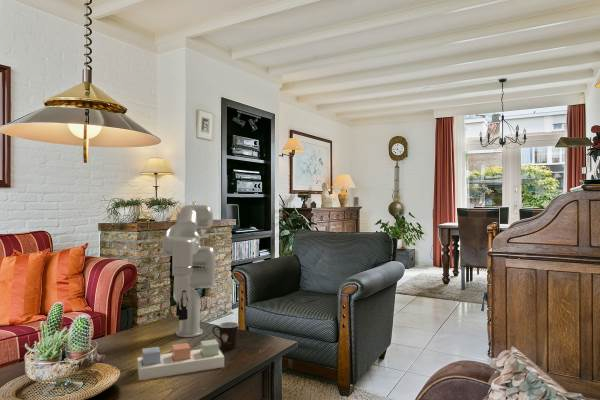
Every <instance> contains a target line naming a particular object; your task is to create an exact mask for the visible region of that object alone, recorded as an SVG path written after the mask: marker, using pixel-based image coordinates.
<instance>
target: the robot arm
mask: <svg viewBox="0 0 600 400" xmlns="http://www.w3.org/2000/svg"><path fill="white" fill-rule="evenodd" d="M213 223H214V214H213V210H212V208H211V206H209V205H205V204H203V205H200V204H194V205H193V204H191V205H190V204H189V205H185V206H183V207H182V208H181V209H180V211H178V213H177V214H176V223H175V224H173V225H172V226H170V227H169V228H168V229H167V230H166V231H165V233H164V236H163V240H162V245H161V249H162V250H161V251H162V252H163V254H164V255H165V256H169V257H171V256H172V263H171V265H172V266H171V269H172V270H171V271H172V272H171V276H173V278H174V279H173V296H172V297H173V300H174V301H175V302H176V305H175V306H176V308H175V310H176V311H175V314H176V316H177V317H178V321H179V329H177V330H176V331H175V335H176V337H177V336H178V337H180V338H193V337H198V336H201V335H202V334H203V333H204V331H203V329H202V328H200V323H201V322H200V321H201V320H200V319H201V317H200V315H201V313H200V312H201V310H200V309H201V297H200V295H199V293H198V291H197V290H196V289H210V288H213V287H214V286H215V282H216V253H215V252H216V251H215V250H214V248H213V247H212V246H205V245H203V246H201V237H200V234H199V232H198V231H197V230H198V229H209V228H211V227H212V226H213ZM197 266H199V267H203V268H193V267H197ZM204 267H205V268H204Z"/></svg>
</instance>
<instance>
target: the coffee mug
mask: <svg viewBox="0 0 600 400" xmlns="http://www.w3.org/2000/svg"><path fill="white" fill-rule="evenodd" d="M216 328H217V329H218V331H219V336H218V335H217V334H216V333H215V329H216ZM212 334H213V335H214V336H215V337H216V338H217V339H218V340H220V347H221V348H220V350H223V351H231V350H236V348H237V340H238V334H239V323H237V322H235V321H226V322H222V323H219V324H218V326H217V325H215V326H213V328H212Z"/></svg>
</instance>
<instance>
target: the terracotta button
mask: <svg viewBox="0 0 600 400" xmlns="http://www.w3.org/2000/svg"><path fill="white" fill-rule="evenodd" d="M191 349H192V348H191V346H190V344H189V343H188V342H184V343H177V344H172V345H171V353H172V359H173V361H180V360H187V359H190V351H191Z"/></svg>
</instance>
